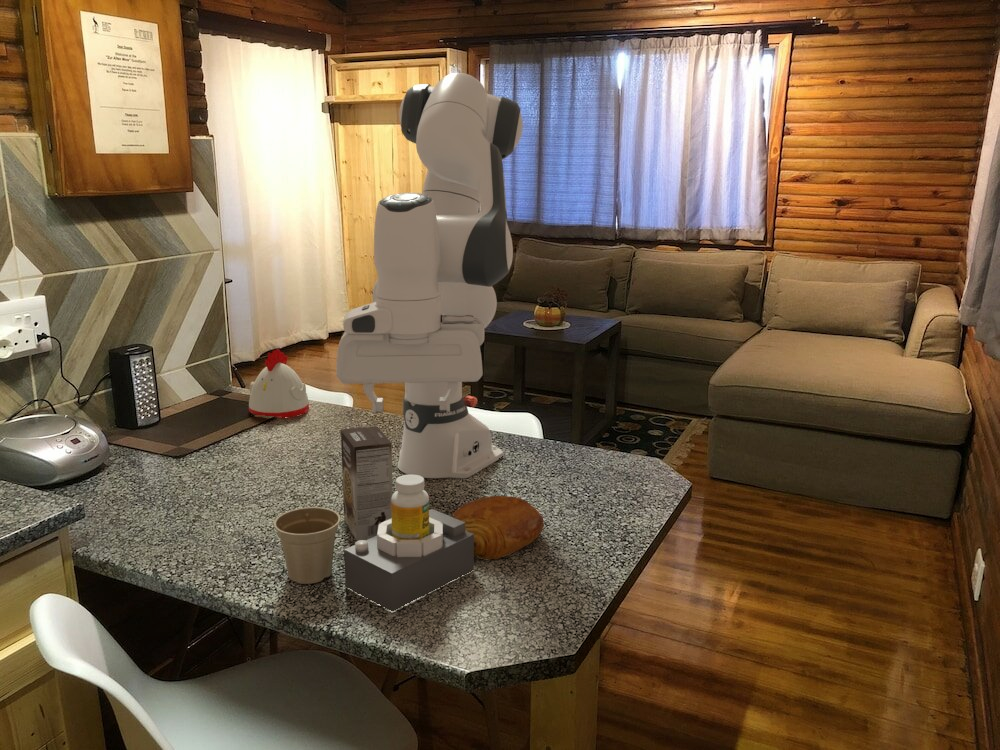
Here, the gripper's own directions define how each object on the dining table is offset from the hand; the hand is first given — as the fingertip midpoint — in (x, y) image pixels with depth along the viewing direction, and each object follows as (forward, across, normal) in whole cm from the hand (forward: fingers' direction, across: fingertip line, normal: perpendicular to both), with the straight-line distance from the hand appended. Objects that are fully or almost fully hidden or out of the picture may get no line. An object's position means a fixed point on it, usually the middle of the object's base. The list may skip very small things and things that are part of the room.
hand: (411, 411), depth 115 cm
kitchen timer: (+27, +36, -78) cm, 90 cm away
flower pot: (+24, +15, +2) cm, 29 cm away
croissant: (+26, -12, -9) cm, 30 cm away
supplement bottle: (+19, 0, +4) cm, 19 cm away
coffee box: (+25, +8, -14) cm, 30 cm away
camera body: (+24, +1, +4) cm, 25 cm away
